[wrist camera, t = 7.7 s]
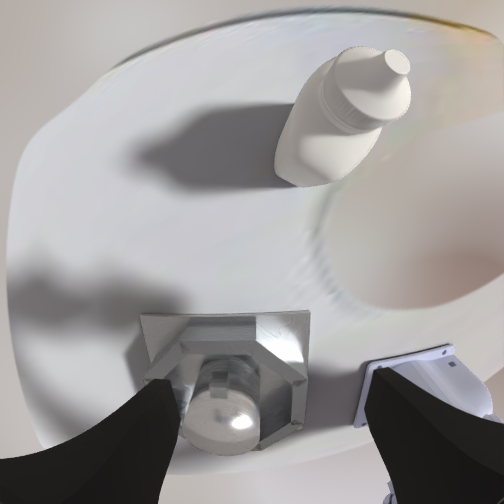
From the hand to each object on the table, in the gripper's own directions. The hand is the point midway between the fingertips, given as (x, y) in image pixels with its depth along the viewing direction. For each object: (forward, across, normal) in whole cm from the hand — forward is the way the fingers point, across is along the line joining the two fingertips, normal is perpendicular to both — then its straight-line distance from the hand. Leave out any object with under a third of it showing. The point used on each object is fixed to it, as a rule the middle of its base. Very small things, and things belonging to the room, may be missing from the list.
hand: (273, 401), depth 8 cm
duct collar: (+10, +3, +7) cm, 12 cm away
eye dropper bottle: (+10, -3, -10) cm, 15 cm away
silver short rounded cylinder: (+10, +3, +7) cm, 12 cm away
